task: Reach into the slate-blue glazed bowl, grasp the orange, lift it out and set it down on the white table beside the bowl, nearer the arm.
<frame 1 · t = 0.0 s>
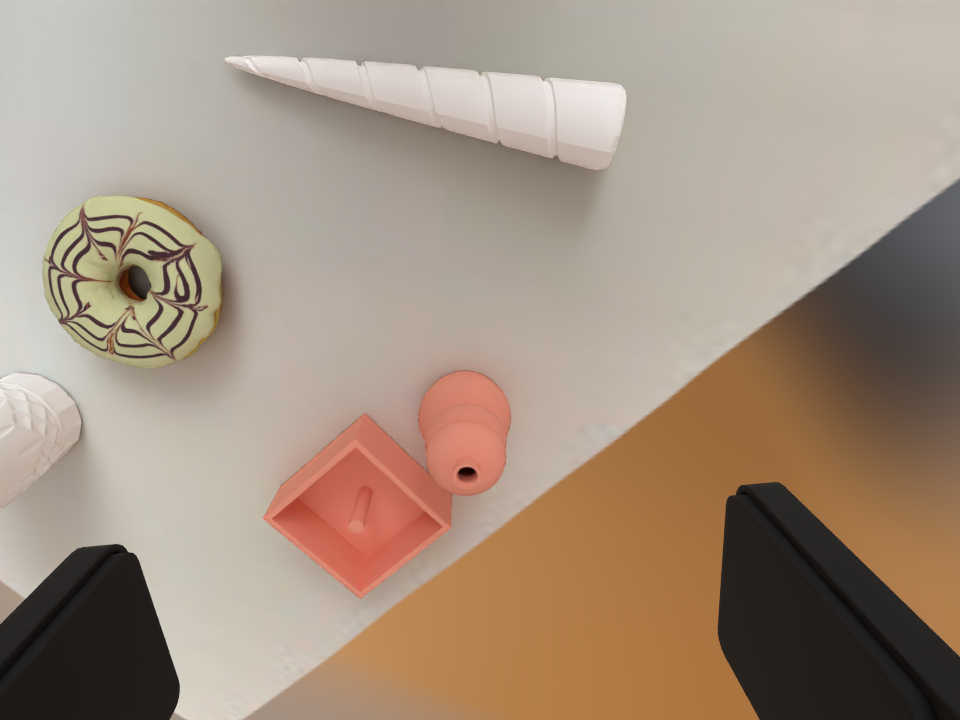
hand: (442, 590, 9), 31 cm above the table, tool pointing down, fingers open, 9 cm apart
decorated donut: (155, 277, 38), on the table
unicorn horn: (437, 106, 36), on the table
pottery: (409, 454, 43), on the table
white cup: (35, 414, 41), on the table
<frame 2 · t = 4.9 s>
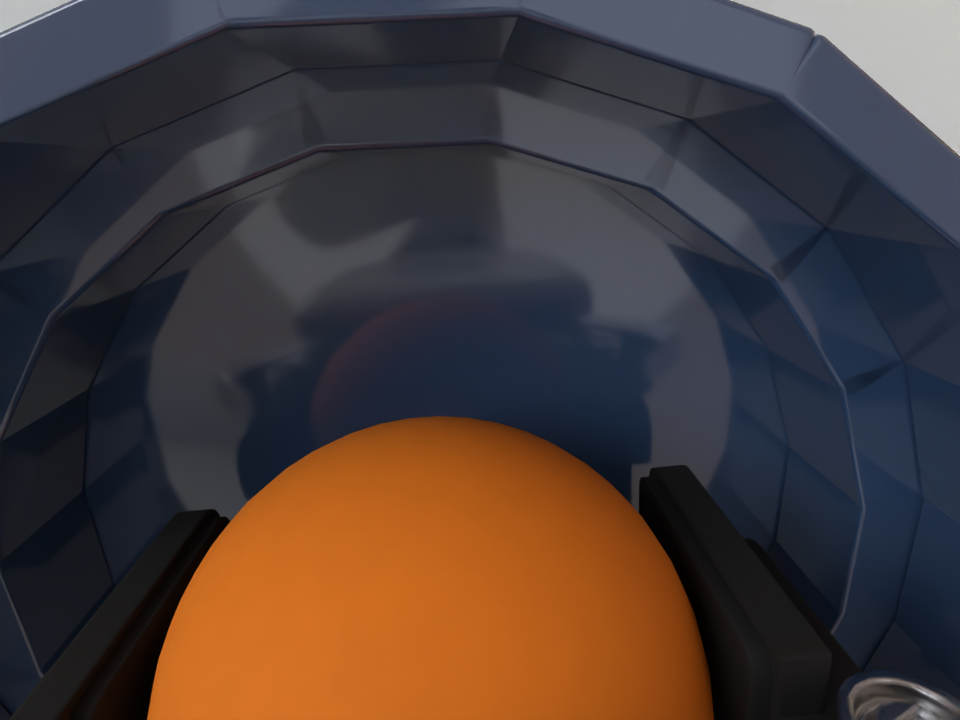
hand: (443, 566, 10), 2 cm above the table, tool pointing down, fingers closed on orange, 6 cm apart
orange: (444, 514, 11), point 1 cm above the table, touching blue bowl, gripper
blue bowl: (445, 497, 12), on the table
when the fingers open (1 cm above the table, at t = 12.6 s): orange stays where it is, on the table.
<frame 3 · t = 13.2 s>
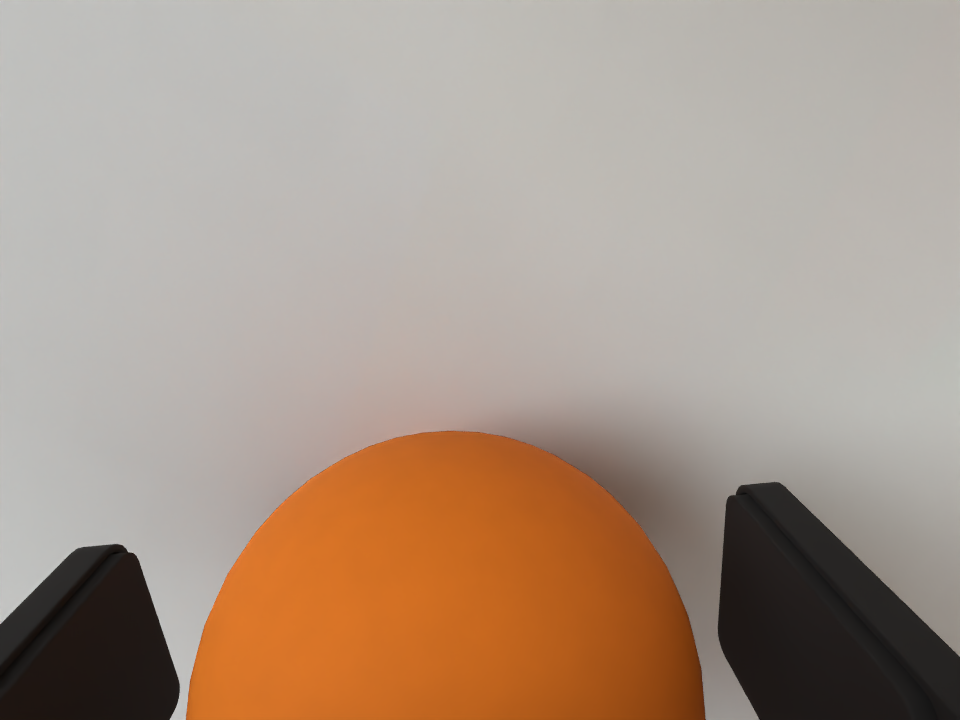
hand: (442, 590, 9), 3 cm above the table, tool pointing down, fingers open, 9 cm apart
orange: (453, 522, 12), on the table
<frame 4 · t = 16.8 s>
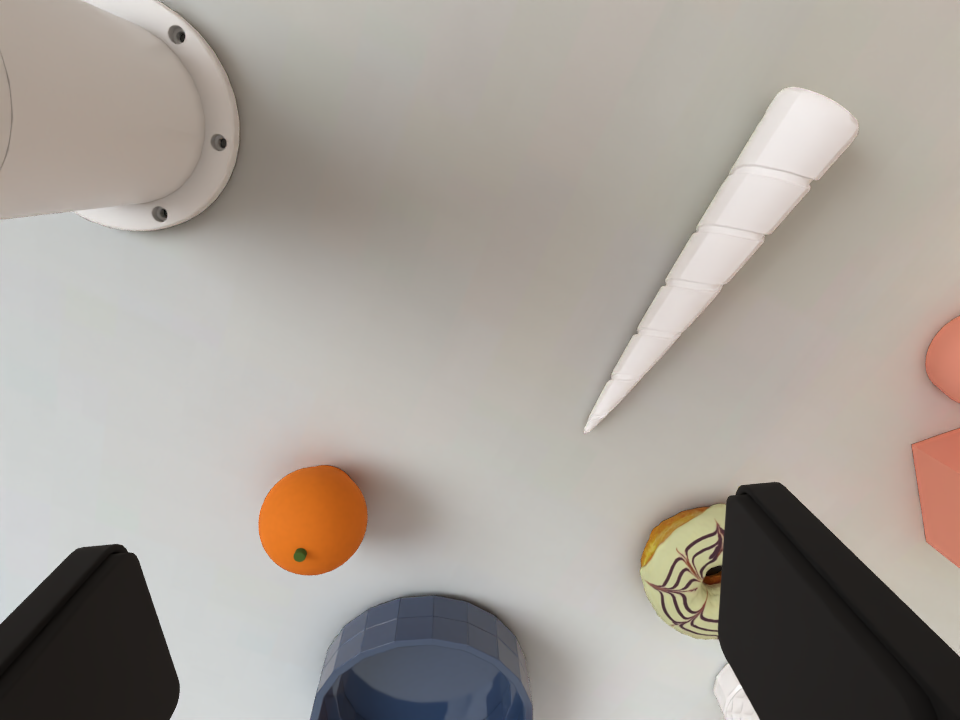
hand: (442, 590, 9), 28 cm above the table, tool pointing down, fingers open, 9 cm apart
decorated donut: (703, 553, 44), on the table
orange: (326, 489, 40), on the table
unicorn horn: (691, 272, 37), on the table
white cup: (751, 679, 48), on the table
blue bowl: (426, 671, 46), on the table
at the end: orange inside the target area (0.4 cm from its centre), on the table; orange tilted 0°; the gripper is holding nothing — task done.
